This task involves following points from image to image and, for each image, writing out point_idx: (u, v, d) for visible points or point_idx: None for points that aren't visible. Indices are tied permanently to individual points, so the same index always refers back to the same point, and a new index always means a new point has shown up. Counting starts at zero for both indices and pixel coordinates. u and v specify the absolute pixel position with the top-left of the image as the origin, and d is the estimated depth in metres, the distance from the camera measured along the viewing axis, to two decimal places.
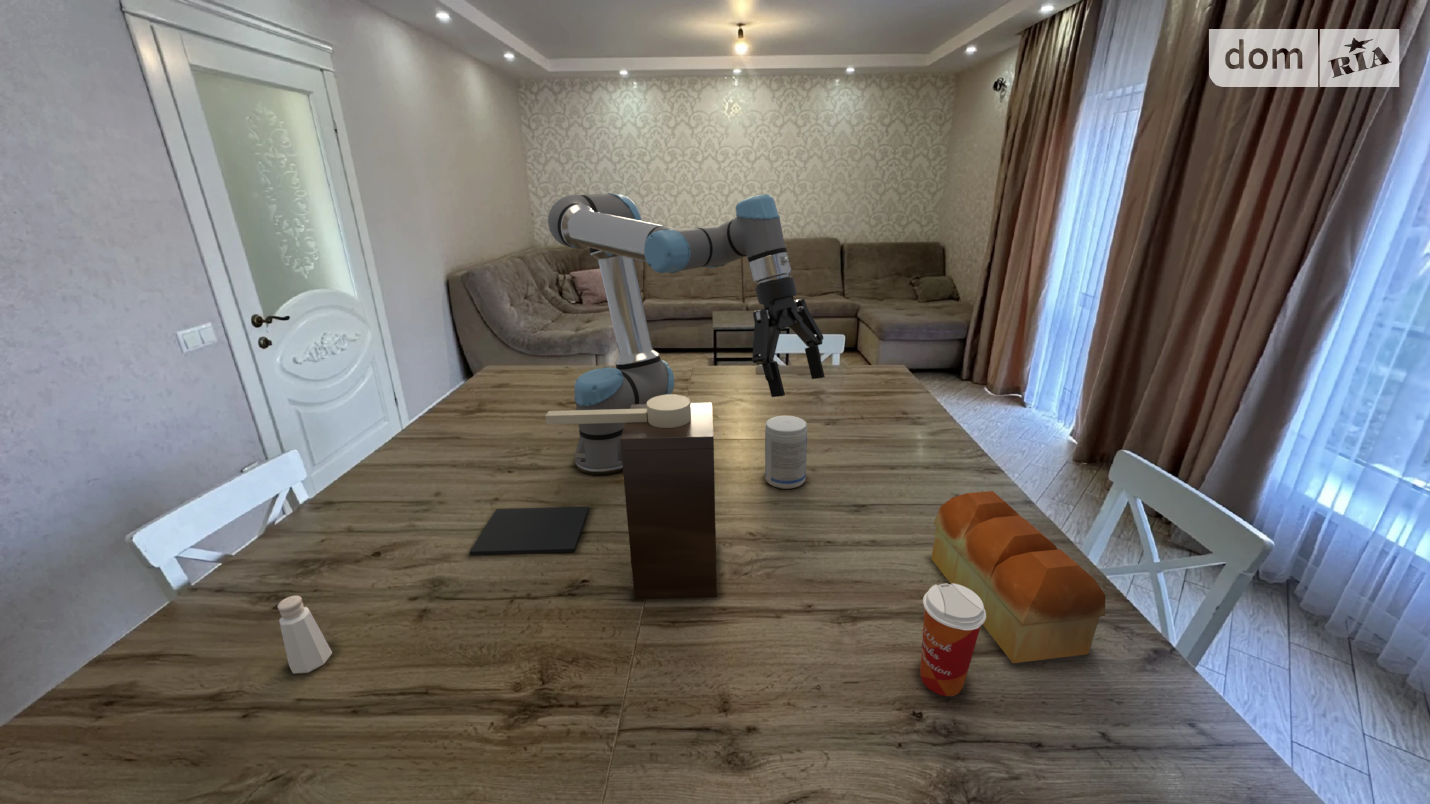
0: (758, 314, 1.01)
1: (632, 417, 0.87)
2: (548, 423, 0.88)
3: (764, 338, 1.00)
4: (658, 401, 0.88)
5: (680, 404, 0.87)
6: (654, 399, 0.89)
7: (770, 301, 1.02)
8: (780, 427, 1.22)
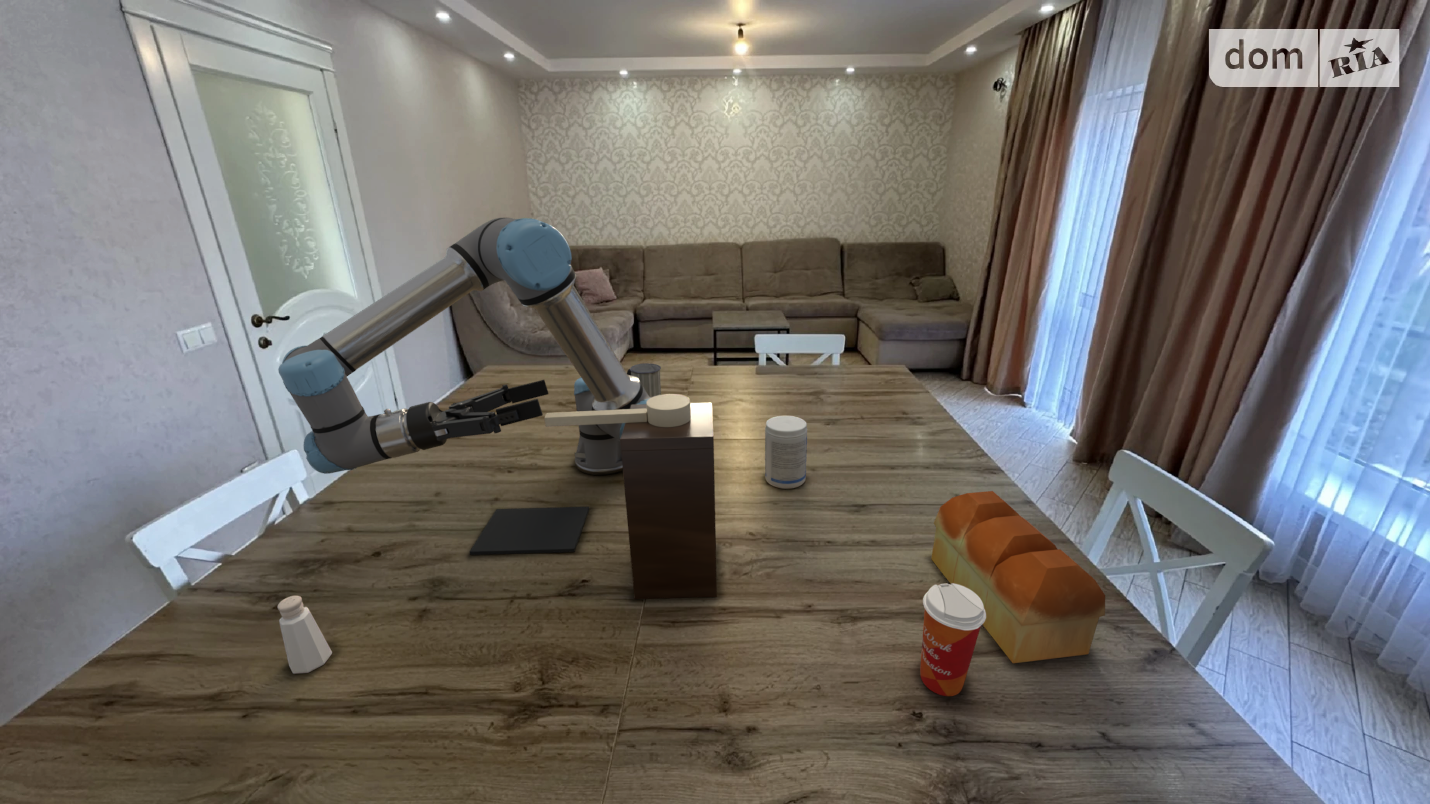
0: (438, 432, 0.85)
1: (632, 417, 0.87)
2: (547, 425, 0.87)
3: (463, 420, 0.84)
4: (658, 400, 0.88)
5: (680, 403, 0.87)
6: (653, 399, 0.89)
7: (430, 424, 0.88)
8: (780, 427, 1.22)
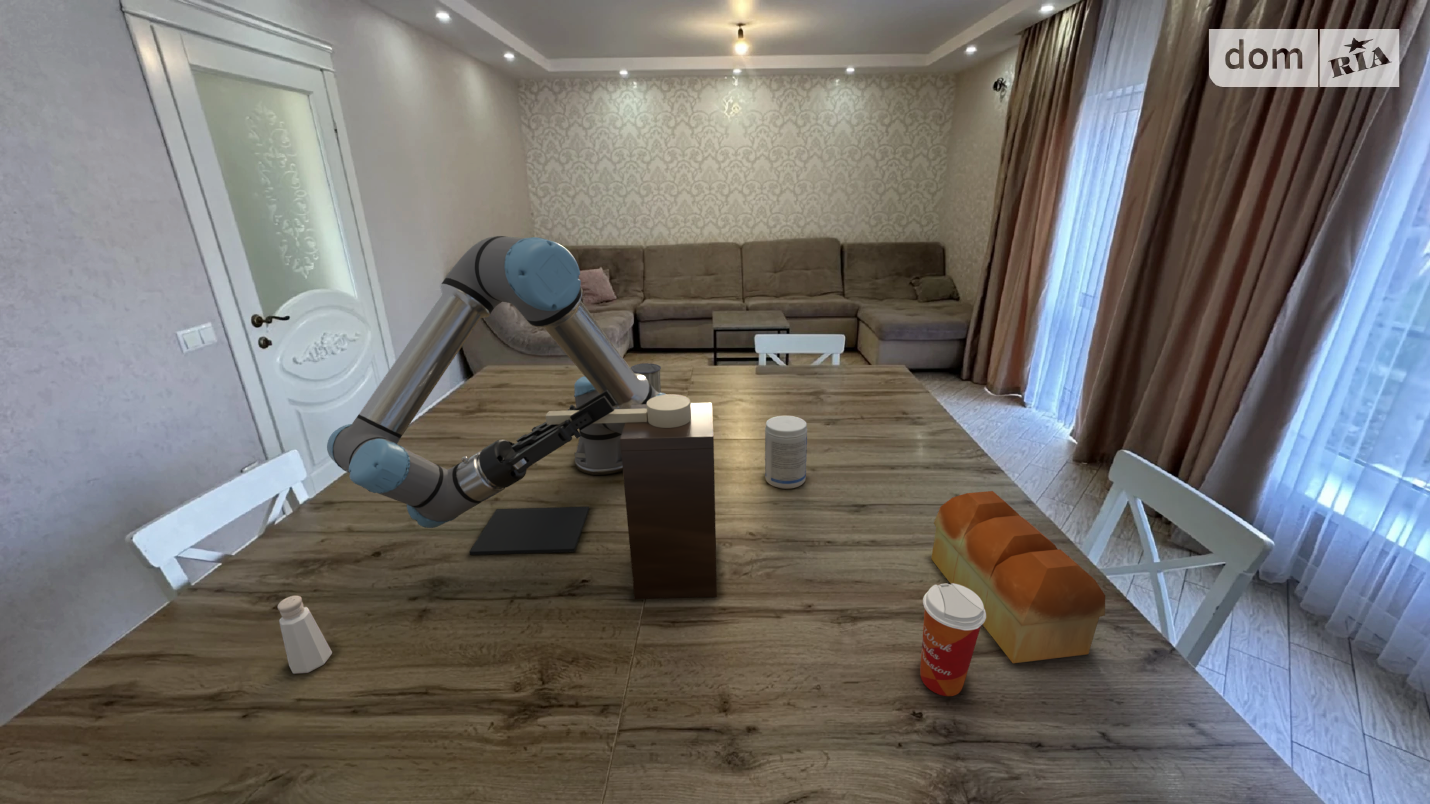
0: (518, 464, 0.84)
1: (632, 417, 0.87)
2: (548, 423, 0.88)
3: (539, 441, 0.84)
4: (658, 401, 0.88)
5: (680, 404, 0.87)
6: (654, 399, 0.89)
7: (500, 464, 0.87)
8: (780, 427, 1.22)
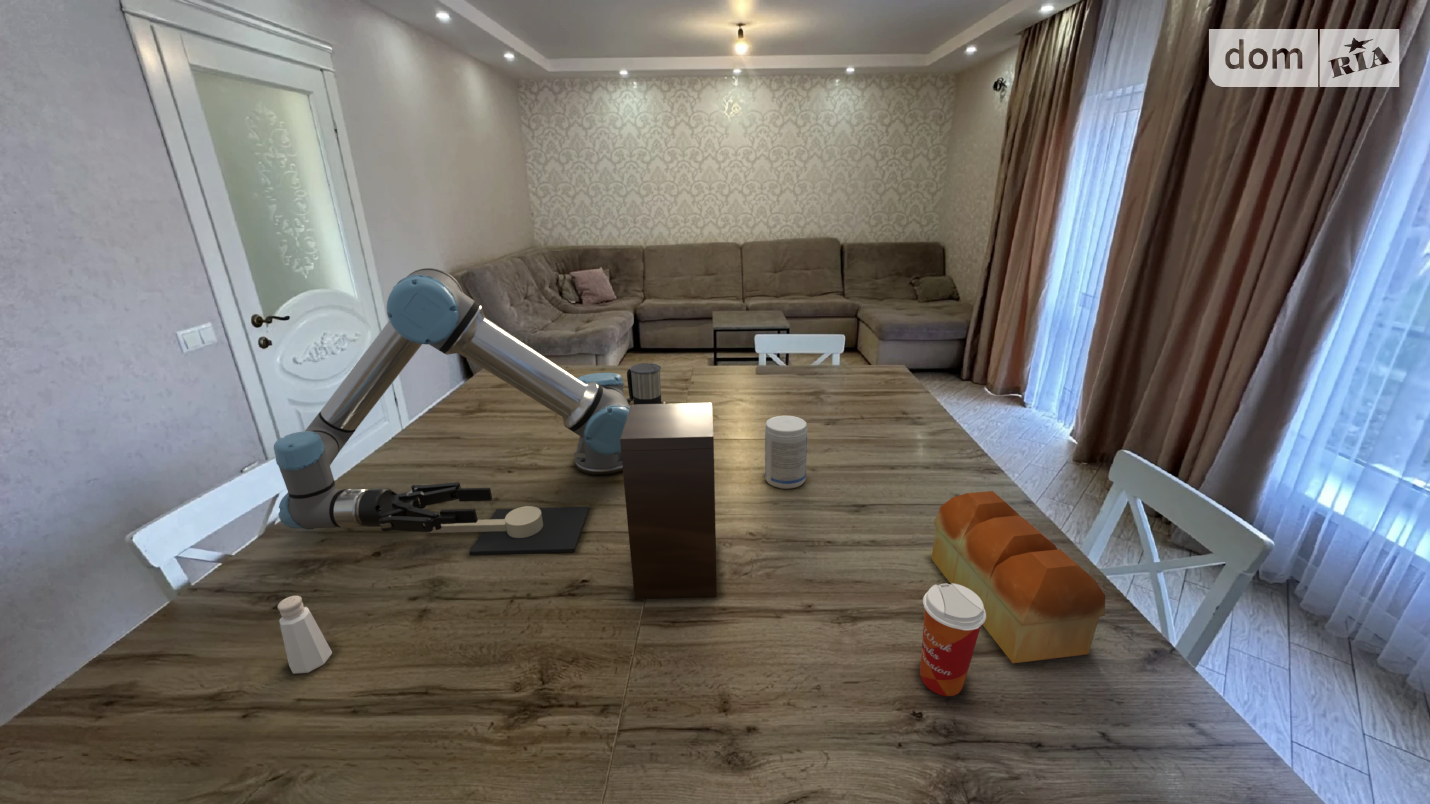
0: (384, 525, 1.03)
1: (494, 527, 1.11)
2: (428, 532, 1.11)
3: (408, 519, 1.03)
4: (515, 514, 1.11)
5: (530, 518, 1.10)
6: (513, 512, 1.12)
7: (376, 513, 1.06)
8: (780, 427, 1.22)
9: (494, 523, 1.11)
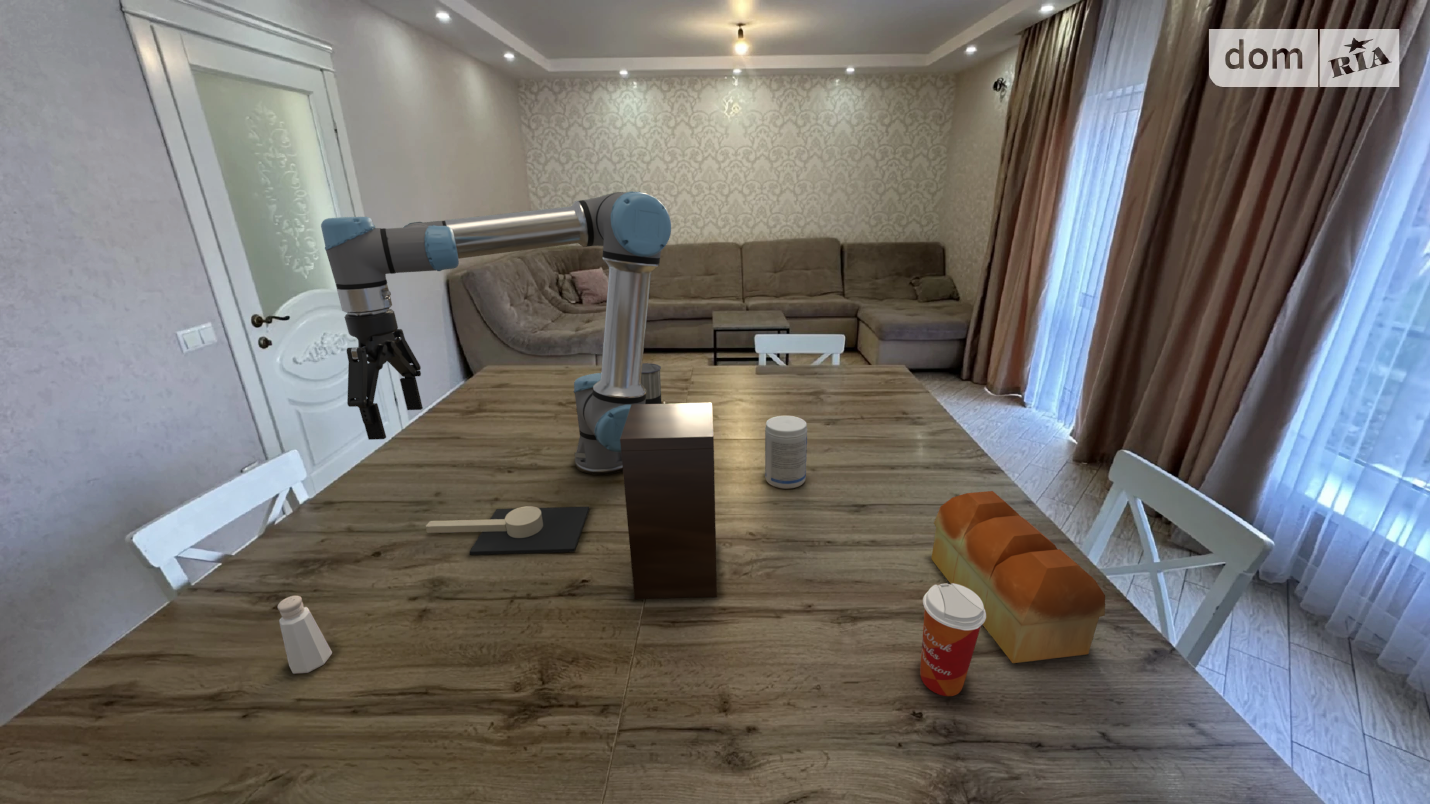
0: (354, 352, 0.91)
1: (494, 527, 1.11)
2: (428, 532, 1.11)
3: (363, 380, 0.91)
4: (515, 514, 1.11)
5: (530, 518, 1.10)
6: (513, 512, 1.12)
7: (368, 337, 0.93)
8: (780, 427, 1.22)
9: (494, 523, 1.11)
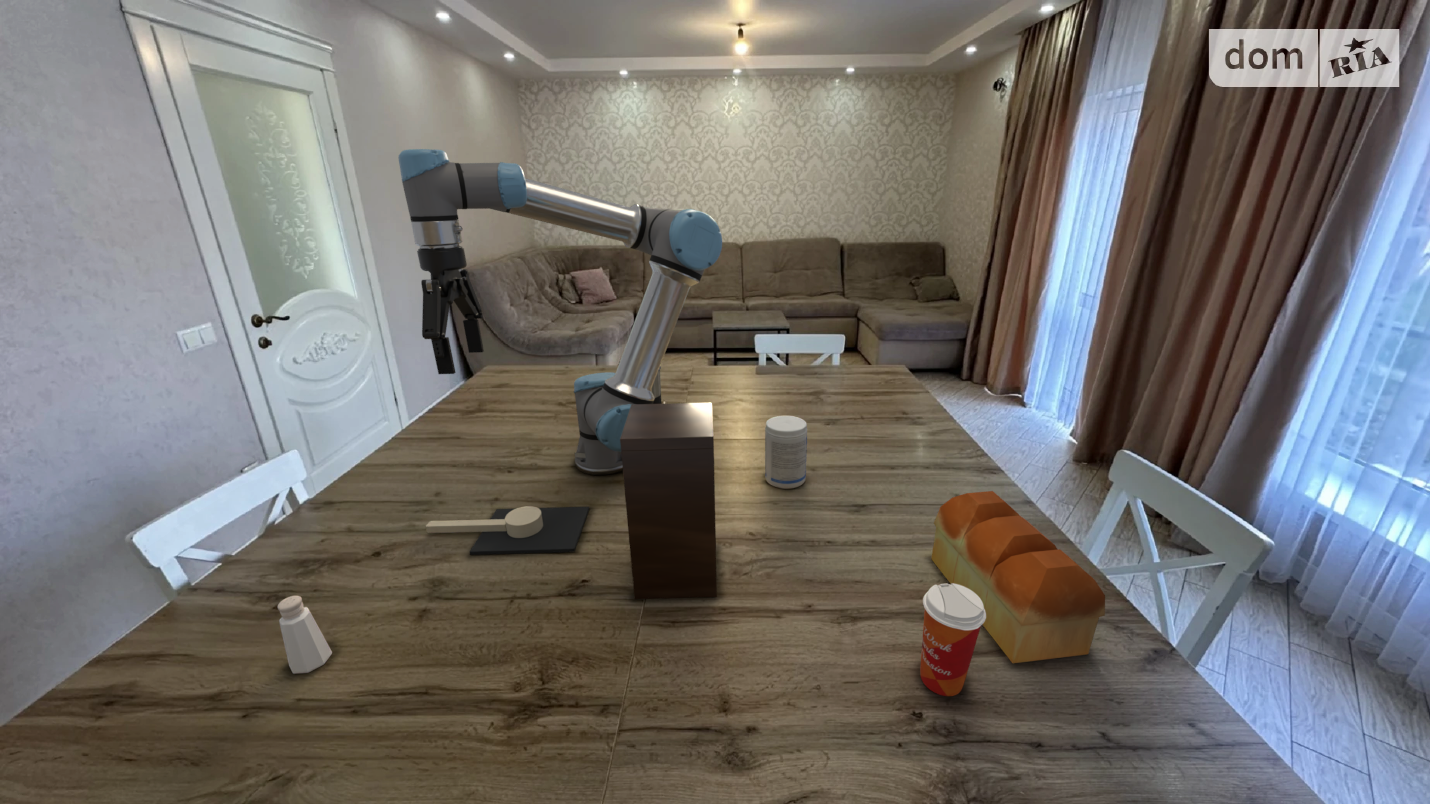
0: (429, 284, 0.92)
1: (494, 527, 1.11)
2: (428, 532, 1.11)
3: (437, 312, 0.93)
4: (515, 514, 1.11)
5: (530, 518, 1.10)
6: (513, 512, 1.12)
7: (440, 271, 0.94)
8: (780, 427, 1.22)
9: (494, 523, 1.11)
